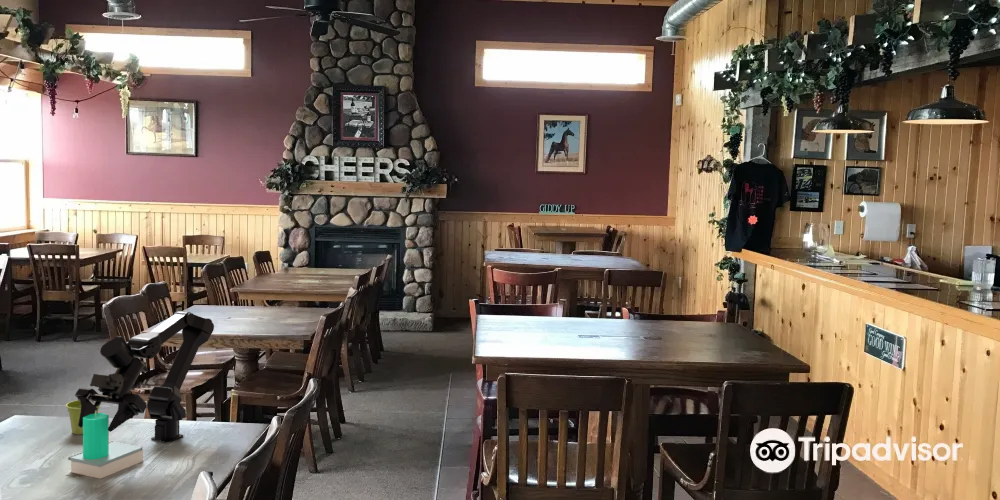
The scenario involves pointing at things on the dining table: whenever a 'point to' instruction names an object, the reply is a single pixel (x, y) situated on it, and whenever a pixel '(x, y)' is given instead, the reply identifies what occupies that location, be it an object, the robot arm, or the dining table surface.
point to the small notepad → (106, 466)
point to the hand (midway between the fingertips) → (94, 428)
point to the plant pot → (76, 415)
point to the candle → (95, 436)
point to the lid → (115, 453)
